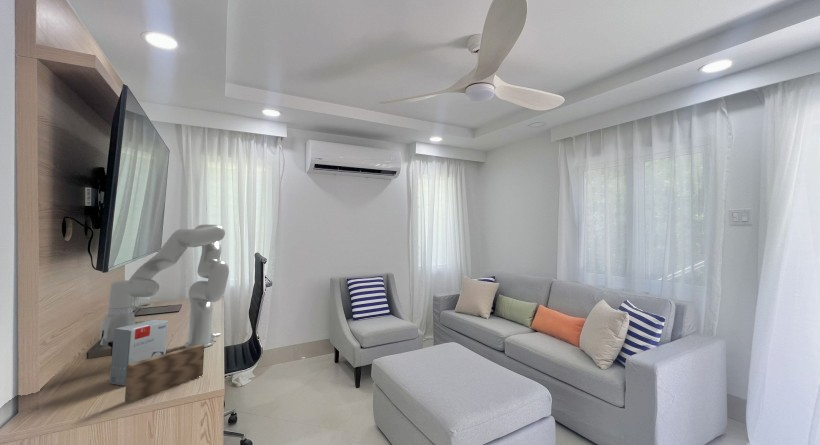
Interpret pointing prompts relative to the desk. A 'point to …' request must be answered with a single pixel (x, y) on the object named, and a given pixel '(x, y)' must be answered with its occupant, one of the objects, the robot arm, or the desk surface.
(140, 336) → the hard drive box
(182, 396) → the desk surface
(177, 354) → the walnut board
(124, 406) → the desk surface
